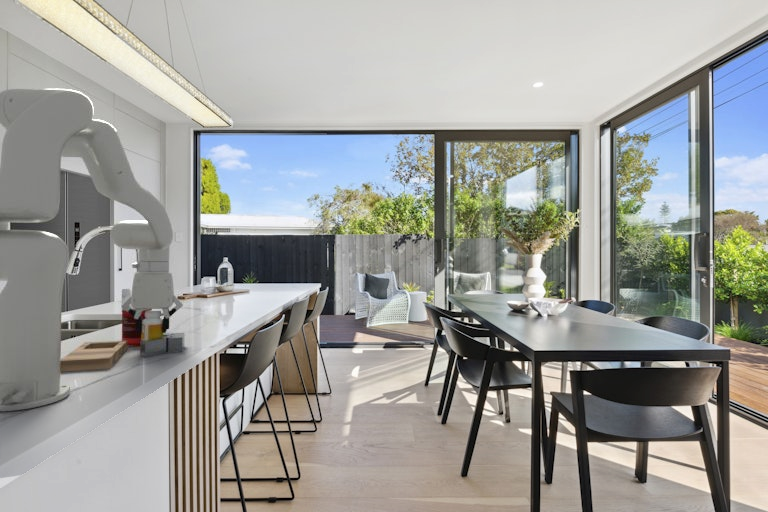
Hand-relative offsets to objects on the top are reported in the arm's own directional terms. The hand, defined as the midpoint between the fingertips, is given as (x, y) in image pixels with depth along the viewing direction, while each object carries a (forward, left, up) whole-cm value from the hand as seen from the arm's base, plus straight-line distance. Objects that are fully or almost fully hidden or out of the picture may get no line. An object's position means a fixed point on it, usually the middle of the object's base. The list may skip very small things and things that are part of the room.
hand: (152, 331), depth 118 cm
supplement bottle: (0, 0, -4) cm, 4 cm away
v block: (0, -3, -5) cm, 6 cm away
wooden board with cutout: (-7, +12, -5) cm, 14 cm away
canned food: (+11, +6, -6) cm, 14 cm away
